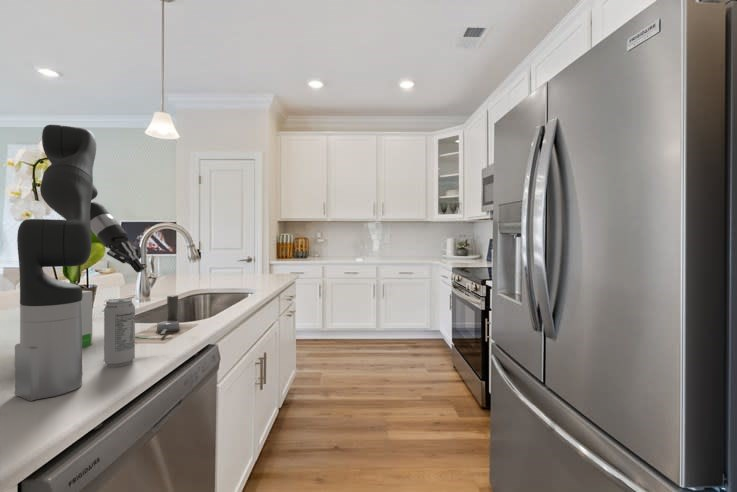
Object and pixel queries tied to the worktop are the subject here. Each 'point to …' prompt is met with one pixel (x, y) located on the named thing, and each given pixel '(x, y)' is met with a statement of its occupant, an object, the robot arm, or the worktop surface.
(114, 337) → the energy drink can
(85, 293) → the skincare box
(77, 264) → the robot arm
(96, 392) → the worktop surface
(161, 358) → the worktop surface
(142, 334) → the tuner board
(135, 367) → the worktop surface
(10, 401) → the worktop surface
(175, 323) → the tuning peg
